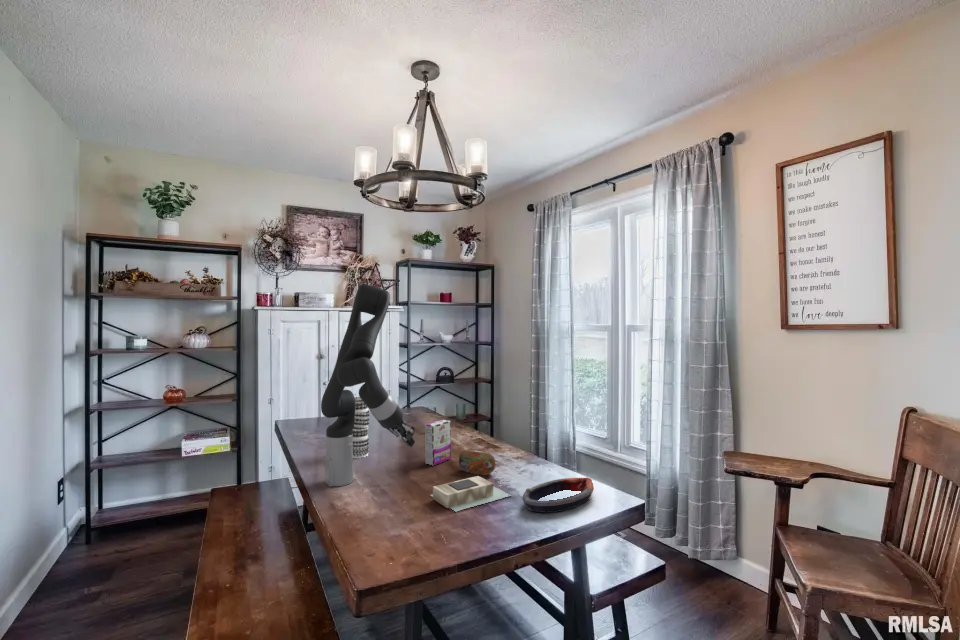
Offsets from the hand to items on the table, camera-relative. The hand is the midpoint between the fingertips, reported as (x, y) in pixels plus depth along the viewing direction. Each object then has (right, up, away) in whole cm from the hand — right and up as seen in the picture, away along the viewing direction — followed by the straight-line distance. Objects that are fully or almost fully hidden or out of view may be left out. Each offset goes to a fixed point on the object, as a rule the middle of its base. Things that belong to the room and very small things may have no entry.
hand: (411, 444), depth 148 cm
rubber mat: (+19, -19, +6) cm, 28 cm away
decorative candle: (-31, -19, +51) cm, 62 cm away
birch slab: (+9, -17, -1) cm, 19 cm away
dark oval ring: (+48, -20, +2) cm, 52 cm away
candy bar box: (+5, -19, +43) cm, 47 cm away
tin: (+21, -19, +30) cm, 41 cm away
